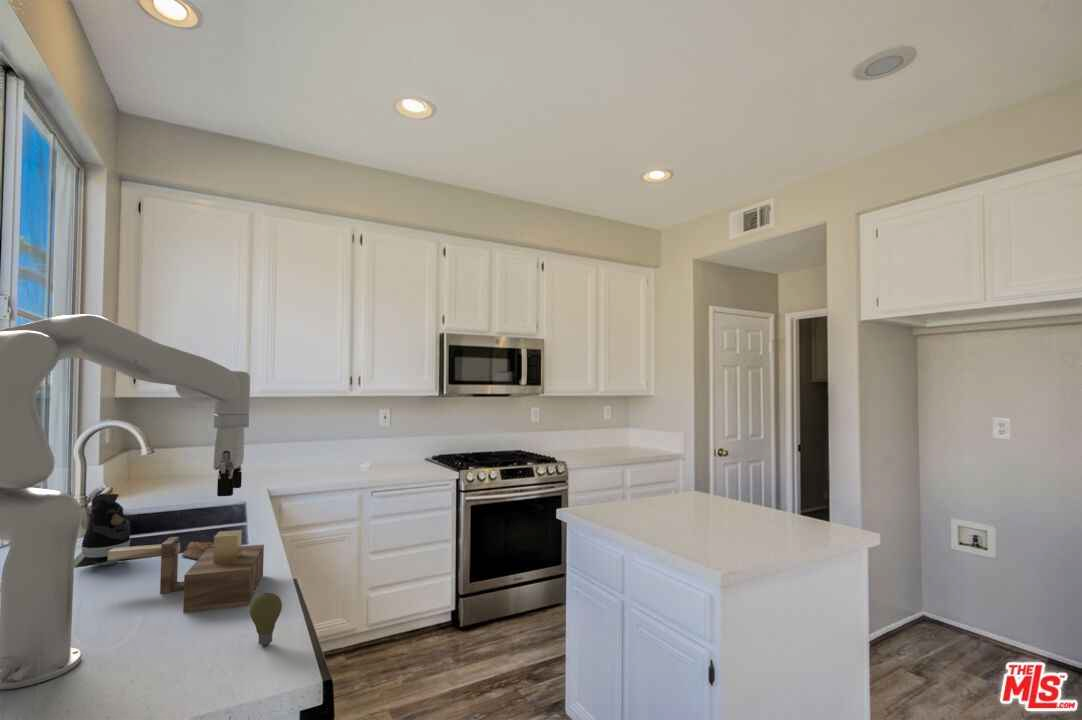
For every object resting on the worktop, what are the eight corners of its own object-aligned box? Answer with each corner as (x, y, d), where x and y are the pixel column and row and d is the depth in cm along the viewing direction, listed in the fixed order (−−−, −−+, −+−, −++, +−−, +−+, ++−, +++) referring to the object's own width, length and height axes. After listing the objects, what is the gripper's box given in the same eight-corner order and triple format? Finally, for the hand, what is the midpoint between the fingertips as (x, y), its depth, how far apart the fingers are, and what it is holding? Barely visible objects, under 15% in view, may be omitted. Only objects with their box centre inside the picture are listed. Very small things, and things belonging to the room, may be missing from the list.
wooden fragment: (231, 559, 158) (231, 556, 158) (186, 567, 151) (186, 564, 151) (215, 539, 178) (215, 536, 178) (175, 546, 171) (175, 542, 171)
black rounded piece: (102, 573, 145) (105, 497, 146) (69, 570, 148) (72, 495, 148) (139, 560, 156) (142, 489, 157) (108, 557, 158) (111, 487, 159)
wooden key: (176, 554, 135) (176, 546, 135) (107, 560, 130) (108, 551, 130) (179, 551, 137) (180, 542, 137) (113, 556, 133) (113, 547, 133)
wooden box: (248, 605, 125) (250, 553, 126) (137, 617, 119) (139, 562, 119) (262, 575, 144) (264, 530, 145) (167, 584, 138) (169, 537, 138)
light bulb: (245, 654, 103) (247, 600, 104) (252, 640, 109) (253, 589, 109) (278, 650, 105) (279, 597, 105) (283, 637, 110) (284, 586, 111)
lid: (249, 576, 126) (250, 542, 126) (184, 582, 122) (185, 547, 122) (263, 550, 145) (264, 521, 145) (207, 555, 141) (208, 525, 141)
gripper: (222, 419, 142) (220, 486, 141) (204, 424, 125) (202, 500, 124) (254, 418, 144) (253, 484, 143) (241, 423, 128) (239, 498, 127)
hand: (229, 491), depth 134 cm, fingers open, 9 cm apart
